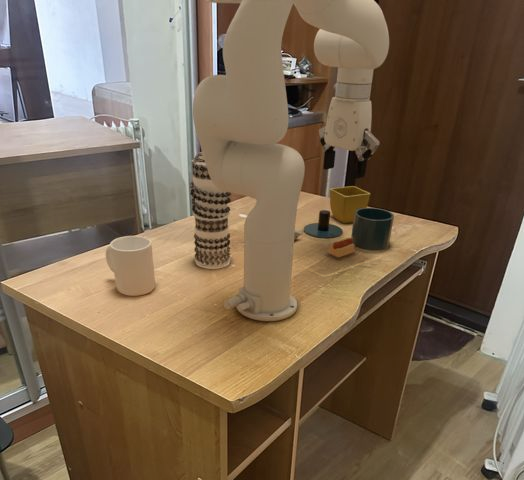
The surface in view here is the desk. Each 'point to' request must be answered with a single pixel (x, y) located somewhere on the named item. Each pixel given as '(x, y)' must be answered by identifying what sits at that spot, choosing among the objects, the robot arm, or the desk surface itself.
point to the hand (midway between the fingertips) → (343, 173)
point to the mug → (132, 264)
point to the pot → (372, 228)
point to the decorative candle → (209, 218)
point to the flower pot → (347, 202)
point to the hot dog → (342, 247)
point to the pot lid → (323, 227)
